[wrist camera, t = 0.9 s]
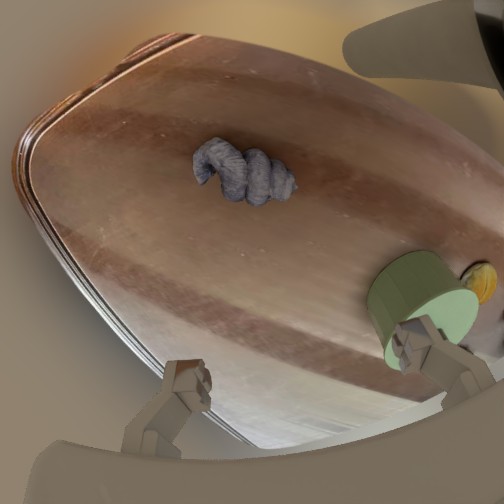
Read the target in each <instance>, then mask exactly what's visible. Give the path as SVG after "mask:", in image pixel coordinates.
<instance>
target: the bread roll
mask: <svg viewBox="0 0 504 504" xmlns="http://www.w3.org/2000/svg"><path fill="white" fill-rule="evenodd" d="M461 281H462V282H463V284H464V285H465V286H466V287H467V288H469V289H471V290H472V291H473V292H474V293H475V294H476V295H477V297H478V301H479V304H483V303H485V302H486V301H487V300H488V299H489V298H490V297H491V296H492V294H493V293H494V291H495V289H496V285H497V274H496V271H495V269H494V267H493V266H492V265H491V264H489V263H483V264H480V263H479V264H476V265H474V266H472V267H471V268H470V269H469V270H468V271H467V272H466V273H465V274H464V275H463V277H462V279H461Z"/></svg>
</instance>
